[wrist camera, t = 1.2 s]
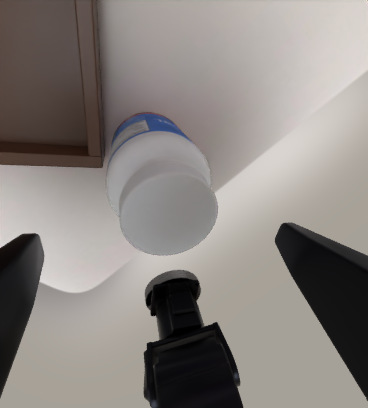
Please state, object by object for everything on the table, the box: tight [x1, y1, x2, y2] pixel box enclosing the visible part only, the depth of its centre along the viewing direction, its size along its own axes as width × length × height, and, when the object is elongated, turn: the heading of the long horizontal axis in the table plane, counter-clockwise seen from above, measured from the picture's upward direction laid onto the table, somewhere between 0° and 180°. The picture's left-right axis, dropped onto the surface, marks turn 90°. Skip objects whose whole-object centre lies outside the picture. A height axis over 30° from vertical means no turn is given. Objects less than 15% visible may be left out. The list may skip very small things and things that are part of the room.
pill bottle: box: [106, 113, 218, 255], centre depth 13 cm, size 6×5×10 cm
